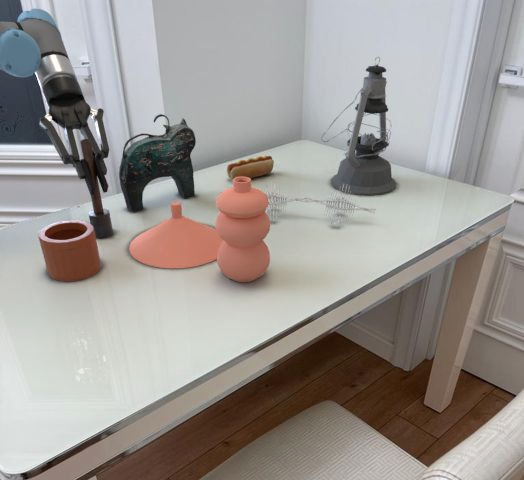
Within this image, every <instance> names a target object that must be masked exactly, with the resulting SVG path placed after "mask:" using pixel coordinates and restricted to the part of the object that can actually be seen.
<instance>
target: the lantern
mask: <svg viewBox="0 0 524 480" xmlns="http://www.w3.org/2000/svg"><path fill="white" fill-rule="evenodd" d="M378 58H379V60H378V63H377V64H374V65H369V66H368V67H367V68H366V69H365V72H368V75H367V76H364V77H363V82H362V87H361V88H360V90H359V91H358V92H357V93H356V95H355V98H354V100H353V101H352V102H351V103H350V104H349V105H347V106H346V107H345V108H344V109H343V110H342V111H341V112H340V113H339V114H338V115H337V116H336V117H335V119H334V120H333V122H331V124H330V125H329V127H328V128H327V129H326V130H325V132H324V133H323V134H322V135H321V137H320V140H321V141H322V142H323V143H328V142H330V141H331V140H333V139H335V138H336V137H338V136H339V135H341V134H343V133H344V132H346V133H347V135H348V138H349V139H348V140H347V141H346V146H347V147H348V148H347V151H346V152H344V153H343V155H344V157H345V158H344V159H342V160H341V161H340V162H339V166H338V170H337V173H336V174H334V175H333V177H331V179H330V184H331V186H332V187H333V188H335V190H337V189H338V190H337V191H339V189H340V191H339V192H341V193H345V190H346V193H345V194H350V192H351V194H350V195H352V194H353V195H355V196H379V195H380V196H381V195H386V194H388V193H391V192H393V191H394V190H395V189H396V187H397V185H398V183H397V181H396V180H395V178H393V177H392V175H393V174H392V165H391V163H390V161H389V160H387V159H385V158H383V157H381V156H380V154H381V153H384V152H385V151H386V150H387V148H388V147H389V146H390V138H391V134H392V132H388V131H389V130H391V129H392V122H391V120H390V119H389V118H387V114H386V113H387V112H389V108H388V105H387V103H386V97H387V95H386V88H387V87H386V86H387V84H388V81H387V78H386V77H384V76H383V73H386V72H387V68H386V67H384V66H381V65H380V62H381V57H380V56H377V57H375V58H374V61H376V60H377V59H378ZM359 94H360V97H359V102H358V103H357V104H356V106H355V107H354V110H356V115H355V119H354V121H351V122H349V123H348V125H347V128H345V129H344V130H342V131H340V132H339V133H337V134H336V135H335V136H333V137H330V138H329V139H327V140H326V141H324V139H323V137H324V136H325V134H326V133H327V132H328V131H329V130H330V128H331V127H332V125H334V123H335V122H336V121H337V119H338V118H340V116H341V115H342V114H343V113H344V112H345V111H346V110H347V109H348V108H350V107H351V105H353V104H354V103H355V101H356V100H357V98H358V95H359ZM369 115H375V116H378V117H379V118H378V119H379V127H377V126H374V125H370V124H367V123H362V122H363V119H364V117H366V116H369ZM387 120H388V122H389V124H390V127H389V129H387ZM362 125H364V126H369V127H372V128H375V129H379V130H377V131H376V132H377V133H379V138H377V137H376V136H375V134H374V133H372V132H371V133H366V132H365V133H364V134H361V133H360V131H361V126H362ZM352 126H353V128H352V130H350V128H351V127H352ZM349 132H350V133H351V136H350V133H349ZM343 184H344V187H343ZM340 186H341V187H340ZM346 186H347V188H346ZM349 186H350V188H349ZM342 188H343V191H342ZM348 190H349V192H348Z"/></svg>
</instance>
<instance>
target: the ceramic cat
mask: <svg viewBox="0 0 524 480" xmlns="http://www.w3.org/2000/svg"><path fill="white" fill-rule="evenodd" d="M161 117H164V118H165V119H166V120H167V124H163V125H162V126H163V128H164V129H165V132H164V133H163V134H159V135H157V134H149V133H138V134H136V135H134V136H132V137H130V138H129V139H128V140H126V142H125V144H124V147H123V148H122V149H123V150H122V157H121V160H120V165H119V167H118V168H119V170H118V171H119V172H118V179H119V184H120V189H121V192H122V196H123V198H124V202H125V206H126V209H127V210H128V211H130V212H131V213H135V212H138V211H142V210H143V209H144V202H143V200H144V199H143V197H144V191H145V189H146V187H147V185H149V183H151V182H152V181H155V180H156V179H160V178H167V177H171V178H172V179H173V182H174V184H175V186H176V189H177V193H178V195H179V196H180V197H181V198H183V199H187V198H189V197H194V196H195V195H196V194H195V180H194V178H195V177H194V167H193V162H192V158H191V154H192V152H193V150H194V149H195V147H196V143H197V142H196V140H197V139H196V134H195V132H194V130H193V129H192V128H191V127H189V125H188V123H187V121H186V119H185V118H183V117H182V118H181V120H180V123H177V124H174V125H170V119H169V118H168V116H166V115H165V114H162V113H159V114H157V115H155V116H154V118H153V123H156V121H157V120H158V119H159V118H161ZM141 136H142V137H143V136H146V137H144V138H142V139H139V140H136V141H134V142H132V143H131V144H130V146H128V145H129V143H130V142H131V141H133V140H134V139H137V138H139V137H141ZM127 146H128V147H127Z"/></svg>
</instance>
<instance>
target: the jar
mask: <svg viewBox="0 0 524 480" xmlns="http://www.w3.org/2000/svg"><path fill="white" fill-rule="evenodd" d="M37 236H38V240H39V244H40V245H39V246H40V249H41V251H42V252H41V253H42V255H43V259H44V263H45V267H46V270H47V275H48V276H49V277H50V278H52V279H53V280H56V281H60V282H76V281H81V280H86V279H88V278H91V277H93V276H94V275H96V274H97V273H98V272H99V271H100V269H101V267H102V264H101V257H100V252H99V248H98V243H97V242H98V241H97V238H96V237H95V232H94V227H93V226H92V225H91V224H90V222H88V221H84V220H80V219H79V220H77V219H70V220H61V221H57V222H53V223H50V224H47V225H45V226H44V227H42V228H41V229H40V230H39V231H38V233H37Z"/></svg>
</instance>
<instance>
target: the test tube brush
mask: <svg viewBox="0 0 524 480" xmlns="http://www.w3.org/2000/svg"><path fill="white" fill-rule="evenodd" d="M270 183H271V184H270V185H268V188H267V185H266V186H265V194H266V195H267V197H268V201H269V205H268V207H269V212H267V209H266V210H265V213H266V214H267V215H268V216H269V219H271V217H272V219H273V220H272V223H273V224H274V221H275V220H277V216H278V217H280V215H277V214H278V209H281V210H280V212H284V209H285V213H286V211H287V208H284V207H285V206H288V204H287V203H291V202H303V203H318V204H322V205H324V206H325V210H324V212H326V213H328V214H326V213H324V214H323V215H324V216H325V215H326V217H327V218H329V216H330V218H329V220H331V225H333V228H335V223H336V220H338V221H337V224H336V227H339V226H340V227H341V226H342V224H344V222H347V221H348V219H350V218H351V220H352V217H351V216H353V214H354V212H355V211H365V212H368V213H370V214H374V215H375V214H376V211H377V208H372V207H371V208H370V207H369V208H367V207H363V206H360V205H358V204H356V200H355V198H351V199H350V197H355V196H356V195H355V194H351V192H350V193H346V190H345V192H344V196H342V194H343V192H342V191H343V188H342V191H340V189H339V190H338V189H335V190H334V192H333V193H331V195H330V192H329V193H328V195H330V196H332V197H334V196H335V197H334V198H332V197H330V196H328V199H314V198H312V197H309V196H303V197H299V198H296V197H295V198H294V197H290V196H286V195H282V194H280V193H281V186H279V185H278V184H279V182H278V181H277V183H276V182H274V187H273V185H272V184H273V179H270ZM276 186H277V187H276ZM272 187H273V189H272ZM278 187H279V190H278ZM340 187H341V186H340ZM343 187H344V184H343ZM346 188H347V186H346ZM349 188H350V186H349ZM267 191H268V192H267ZM335 191H336V193H335ZM277 192H278V194H277ZM340 192H341V193H340ZM348 192H349V190H348ZM337 193H338V194H337ZM346 194H347V195H346ZM339 195H340V196H339ZM345 196H346V198H345ZM348 197H349V198H348ZM329 198H330V199H329ZM352 200H353V201H352ZM354 200H355V201H354ZM282 208H283V209H282ZM272 209H275V210H273V211H272ZM327 209H328V210H329V212H328V210H327ZM326 210H327V211H326ZM330 212H331V214H330ZM271 213H272V214H273V215H272V214H271ZM347 214H351V215H347ZM271 215H272V216H271ZM338 215H339V216H338ZM346 215H347V216H346ZM334 216H335V217H334ZM337 216H338V219H337ZM340 218H343V219H341V221H340ZM346 218H348V219H346ZM345 219H346V220H345ZM333 220H334V222H333ZM343 220H345V221H343ZM339 222H340V225H339Z"/></svg>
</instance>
